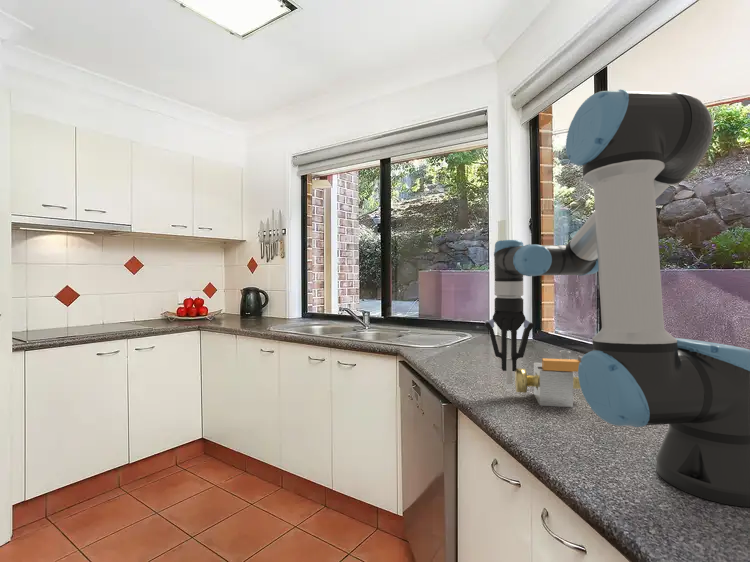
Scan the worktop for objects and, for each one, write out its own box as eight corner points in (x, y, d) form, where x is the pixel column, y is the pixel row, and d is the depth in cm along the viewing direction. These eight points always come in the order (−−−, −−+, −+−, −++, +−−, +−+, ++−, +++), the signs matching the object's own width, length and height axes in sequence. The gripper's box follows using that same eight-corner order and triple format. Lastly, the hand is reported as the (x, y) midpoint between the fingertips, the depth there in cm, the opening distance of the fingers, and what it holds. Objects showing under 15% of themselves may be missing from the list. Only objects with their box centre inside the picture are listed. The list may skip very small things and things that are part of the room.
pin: (582, 398, 106) (582, 374, 106) (517, 395, 109) (517, 371, 109) (576, 391, 112) (576, 368, 112) (515, 388, 116) (514, 365, 116)
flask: (580, 387, 122) (581, 354, 122) (554, 386, 124) (555, 353, 124) (574, 381, 129) (574, 349, 129) (549, 380, 131) (549, 348, 131)
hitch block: (573, 407, 105) (573, 371, 105) (539, 405, 107) (539, 369, 106) (564, 395, 115) (564, 362, 114) (533, 393, 116) (533, 361, 116)
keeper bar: (585, 371, 104) (586, 358, 104) (543, 370, 106) (543, 356, 106) (582, 369, 107) (582, 355, 107) (541, 367, 109) (542, 354, 109)
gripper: (531, 296, 114) (531, 380, 115) (483, 296, 117) (483, 378, 118) (536, 297, 107) (536, 387, 108) (484, 297, 110) (485, 385, 110)
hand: (508, 382), depth 113 cm, fingers closed
